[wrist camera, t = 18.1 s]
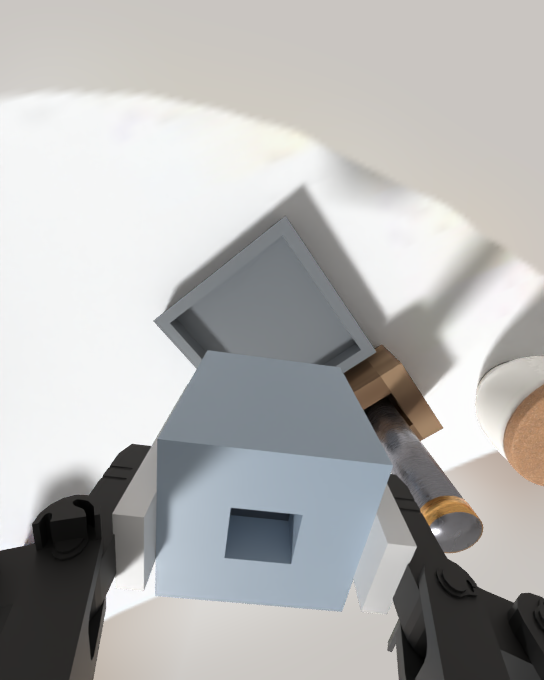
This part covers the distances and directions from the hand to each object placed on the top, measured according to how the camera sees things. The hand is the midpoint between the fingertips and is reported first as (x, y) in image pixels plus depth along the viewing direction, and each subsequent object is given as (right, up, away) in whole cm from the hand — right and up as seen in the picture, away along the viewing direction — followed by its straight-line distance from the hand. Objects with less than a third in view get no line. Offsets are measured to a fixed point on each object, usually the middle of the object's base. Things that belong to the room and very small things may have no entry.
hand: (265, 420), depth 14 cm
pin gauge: (+10, -2, +15) cm, 19 cm away
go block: (+10, -2, +16) cm, 19 cm away
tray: (0, +5, +14) cm, 15 cm away
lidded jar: (+25, -1, +17) cm, 30 cm away
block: (0, 0, 0) cm, 0 cm away
